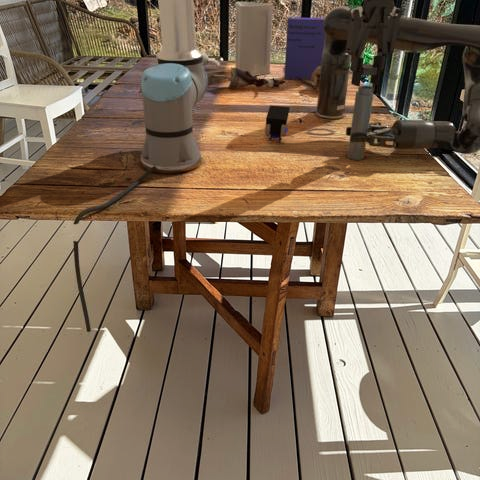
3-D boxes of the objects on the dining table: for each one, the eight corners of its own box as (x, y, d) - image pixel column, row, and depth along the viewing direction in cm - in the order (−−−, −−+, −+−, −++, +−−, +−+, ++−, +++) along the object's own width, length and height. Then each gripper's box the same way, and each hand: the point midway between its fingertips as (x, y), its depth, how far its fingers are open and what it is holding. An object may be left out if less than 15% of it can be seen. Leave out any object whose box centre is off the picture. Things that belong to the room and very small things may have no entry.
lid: (380, 73, 117) (382, 66, 116) (369, 76, 114) (370, 69, 113) (363, 70, 120) (365, 63, 120) (352, 72, 117) (353, 65, 117)
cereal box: (323, 77, 210) (330, 17, 198) (324, 80, 206) (331, 19, 193) (284, 76, 211) (287, 16, 198) (284, 78, 207) (288, 18, 194)
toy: (175, 75, 210) (174, 58, 206) (151, 64, 228) (150, 49, 224) (222, 69, 222) (222, 53, 218) (195, 59, 239) (195, 45, 236)
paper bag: (273, 76, 210) (276, 6, 196) (239, 77, 209) (240, 6, 194) (266, 67, 226) (268, 2, 212) (235, 67, 225) (235, 1, 210)
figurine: (210, 87, 179) (288, 95, 182) (212, 65, 176) (291, 73, 180) (208, 84, 201) (278, 91, 205) (210, 64, 198) (280, 71, 202)
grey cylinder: (355, 161, 126) (365, 90, 116) (343, 155, 129) (353, 86, 120) (367, 158, 128) (378, 88, 118) (355, 153, 131) (365, 84, 122)
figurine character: (286, 149, 136) (289, 127, 148) (287, 124, 131) (290, 104, 143) (262, 148, 137) (267, 126, 149) (263, 123, 132) (268, 103, 144)
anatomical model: (320, 94, 199) (320, 96, 185) (305, 80, 198) (304, 80, 184) (342, 71, 195) (344, 70, 181) (327, 56, 194) (328, 54, 180)
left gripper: (356, -22, 101) (341, 90, 113) (425, -21, 107) (403, 85, 119) (338, -24, 107) (325, 83, 119) (403, -23, 112) (385, 78, 125)
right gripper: (418, 158, 122) (352, 157, 121) (401, 139, 134) (341, 139, 133) (425, 129, 118) (356, 129, 117) (406, 112, 130) (344, 112, 129)
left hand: (364, 84), depth 119 cm, fingers closed on lid, 5 cm apart
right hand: (348, 134), depth 125 cm, fingers closed on grey cylinder, 4 cm apart
